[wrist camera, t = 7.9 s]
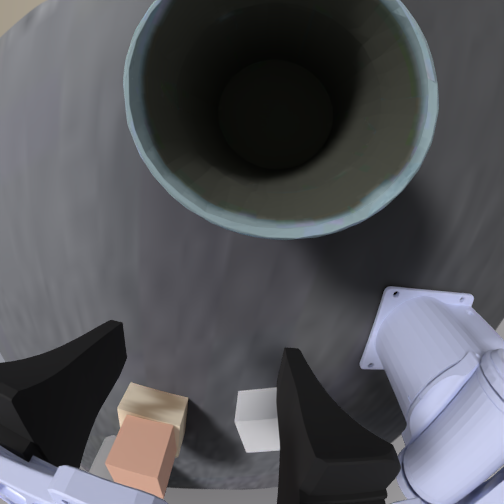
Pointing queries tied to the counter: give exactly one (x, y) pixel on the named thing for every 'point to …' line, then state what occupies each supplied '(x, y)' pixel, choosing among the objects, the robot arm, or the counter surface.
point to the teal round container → (281, 109)
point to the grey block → (258, 420)
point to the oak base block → (155, 408)
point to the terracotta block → (143, 455)
